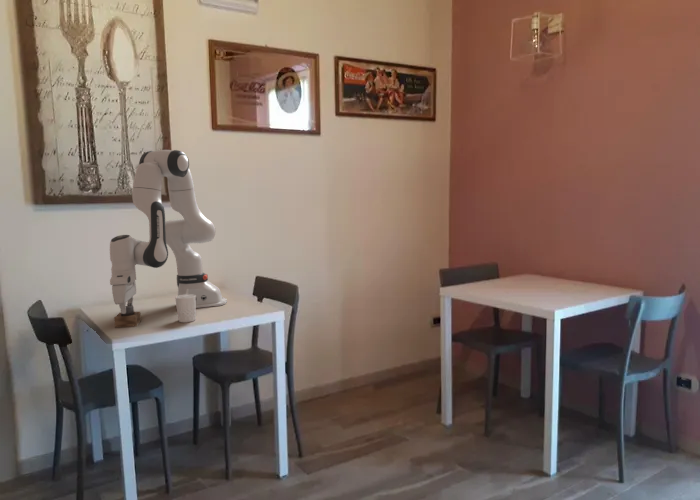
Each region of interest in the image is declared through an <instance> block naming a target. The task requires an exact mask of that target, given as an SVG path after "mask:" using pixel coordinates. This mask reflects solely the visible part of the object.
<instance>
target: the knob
mask: <svg viewBox="0 0 700 500" xmlns="http://www.w3.org/2000/svg"><path fill="white" fill-rule="evenodd" d="M125 306H126V308H127V312H126V313H125V314H122V313H121V312H120V313H121V316H130V315H133V314H134V312H135V311H134V310H135V309H134V305H133V306H127V305H125Z"/></svg>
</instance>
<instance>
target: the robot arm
mask: <svg viewBox="0 0 700 500" xmlns="http://www.w3.org/2000/svg"><path fill="white" fill-rule="evenodd" d="M164 177H166V178H167V189H168V196H169V204H170V207H171V208H172V210H173V211H175V212H177V213H179V214H180V215H181V217H183V219H182V218H181V219H178V218H177V219H170V220H166V213H165V207H164V206H163V201H162V187H163V186H162V185H163V183H162V182H163V178H164ZM194 184H195V183H194V178H193V175H192V172H191V170H190V160H189V157H188V156H187V154H186V153H185V152H183V151H181V150H177V149H174V150H173V149H172V150H171V149H161V150H149V151H146V152H143V153H142V155H141V157H140V158H139V163H138V166H137V168H136V171H135V174H134V179H133V184H132V185H133V186H132V194H131V196H132V198H131V199H132V203H133V205H134V206H135V207H136V209H138V210H139V211H140V212H143V214H144V215H145V216H146V217H147V219H148V225H149V226H148V227H149V228H148V229H149V233H148V234H149V240H148V241H142V240H139V239H136V238H134V237H132V236H131V235H129V234H121V235H116V236H114V237H112V238H111V240H110V242H109V260H110V262H111V269H110V270H111V277H110V279H109V285H110V286H111V292H112V298H113V302H114V304H115V305H119V306H118V307H119V309H120V313H122V314H125V313H126V312H127V308H126V306H133V307H134V304H133V303H134V296H135V295H136V294H137V285H136V280H137V274H136V273H137V272H136V265H138V266H139V265H140V266H145V267H151V268H154V269H155V268H156V269H157V268H161V267H163V266H164V265H165V264H166V262H167V260H168V257H169V249H168V247H169V248H170V249H171V251H172V253H173V255H174V258H175V263H176V269H177V271H176V272H177V273H176V286H177V296H179V295H185V294H193V295H196V309H199V308H208V307H209V308H211V307H218V306H219V307H220V306H223V305H225V304H227V301H228V299H227V297H224V296H222V293H221V292H222V291H221V290H220V288H219V287H218V286H217V285H215V284H213V283H212V282H211V281H209V277H208V274H207V273H205V272H203V271H204V270H203V257H202V256H201V254H200V253H199V252H197V251H195V250H193V248H192V247H191V245H190V244H204V243H209V242H211V241H212V242H213V239H214V238H215V235H216V227H215V224H214V223H213V222H212V220H210V219H208V218H207V217H206V216H205V215H204V214H203V213H202V211H201V210H200V208H199V205H198V202H197V198H196V197H197V196H196V190H195V185H194Z"/></svg>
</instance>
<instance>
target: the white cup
mask: <svg viewBox="0 0 700 500" xmlns="http://www.w3.org/2000/svg"><path fill="white" fill-rule="evenodd" d="M175 306H176V312H177V313H176V314H177V320H178V322H179V323H191V322H195V321H196V320H197V318H196V317H197V315H196V313H197V308H196V295H193V294H185V295H179V296H178V295H176V296H175Z"/></svg>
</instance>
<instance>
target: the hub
mask: <svg viewBox="0 0 700 500" xmlns="http://www.w3.org/2000/svg"><path fill="white" fill-rule="evenodd" d="M141 316H142V315H141V311H134V314H133V315H130V316H121V312H119V313H118V314H117V315H115V316H114V318H113V319H114V328H127V327H128V328H129V327H137V326H138V325H139V323H140V322H141V320H142V319H141V318H142V317H141Z"/></svg>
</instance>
